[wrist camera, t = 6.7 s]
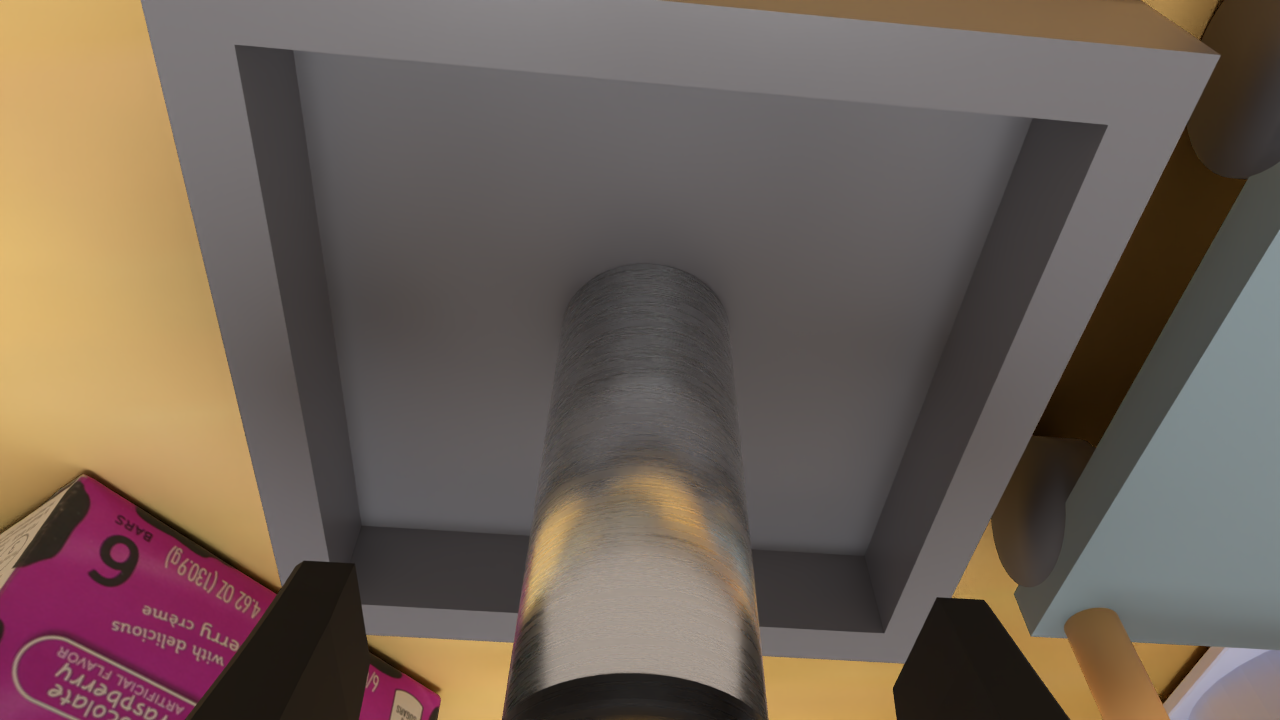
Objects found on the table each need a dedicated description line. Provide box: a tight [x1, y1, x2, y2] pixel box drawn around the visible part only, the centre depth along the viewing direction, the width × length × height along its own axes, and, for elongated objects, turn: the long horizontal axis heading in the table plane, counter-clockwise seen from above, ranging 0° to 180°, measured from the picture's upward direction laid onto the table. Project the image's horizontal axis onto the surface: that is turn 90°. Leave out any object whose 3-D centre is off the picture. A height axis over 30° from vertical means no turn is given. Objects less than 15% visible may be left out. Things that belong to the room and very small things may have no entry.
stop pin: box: [502, 263, 768, 720], centre depth 13 cm, size 3×3×9 cm
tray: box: [141, 0, 1221, 664], centre depth 16 cm, size 13×13×3 cm
